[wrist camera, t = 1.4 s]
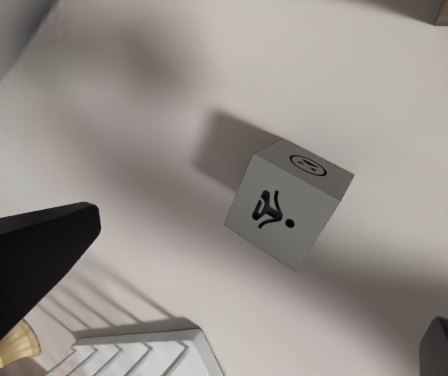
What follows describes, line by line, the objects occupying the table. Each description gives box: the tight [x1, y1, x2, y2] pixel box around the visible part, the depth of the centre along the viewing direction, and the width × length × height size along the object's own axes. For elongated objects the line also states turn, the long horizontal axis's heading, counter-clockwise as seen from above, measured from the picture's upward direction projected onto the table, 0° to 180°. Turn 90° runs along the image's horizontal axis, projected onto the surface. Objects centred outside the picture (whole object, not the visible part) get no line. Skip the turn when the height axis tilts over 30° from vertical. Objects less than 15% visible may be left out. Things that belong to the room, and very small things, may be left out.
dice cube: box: [224, 139, 354, 272], centre depth 19 cm, size 5×5×5 cm
